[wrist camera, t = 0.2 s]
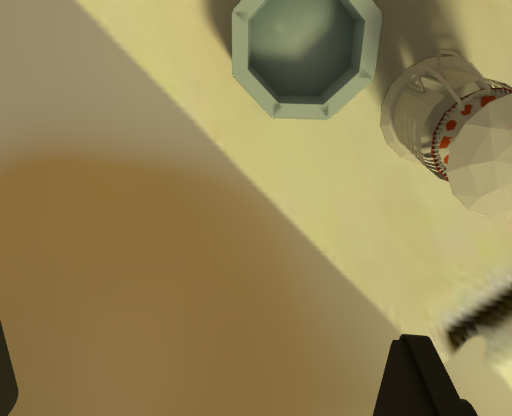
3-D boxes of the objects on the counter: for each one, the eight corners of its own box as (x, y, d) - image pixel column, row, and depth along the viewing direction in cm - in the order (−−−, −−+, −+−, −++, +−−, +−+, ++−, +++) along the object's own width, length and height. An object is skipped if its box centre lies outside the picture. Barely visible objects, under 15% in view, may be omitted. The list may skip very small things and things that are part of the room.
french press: (411, 183, 40) (594, 394, 17) (349, 85, 36) (474, 188, 13) (508, 123, 37) (882, 282, 14) (451, 11, 33) (826, -16, 11)
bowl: (307, -64, 32) (312, -79, 27) (391, 45, 35) (409, 48, 30) (211, 41, 35) (202, 43, 31) (295, 131, 38) (298, 146, 34)
